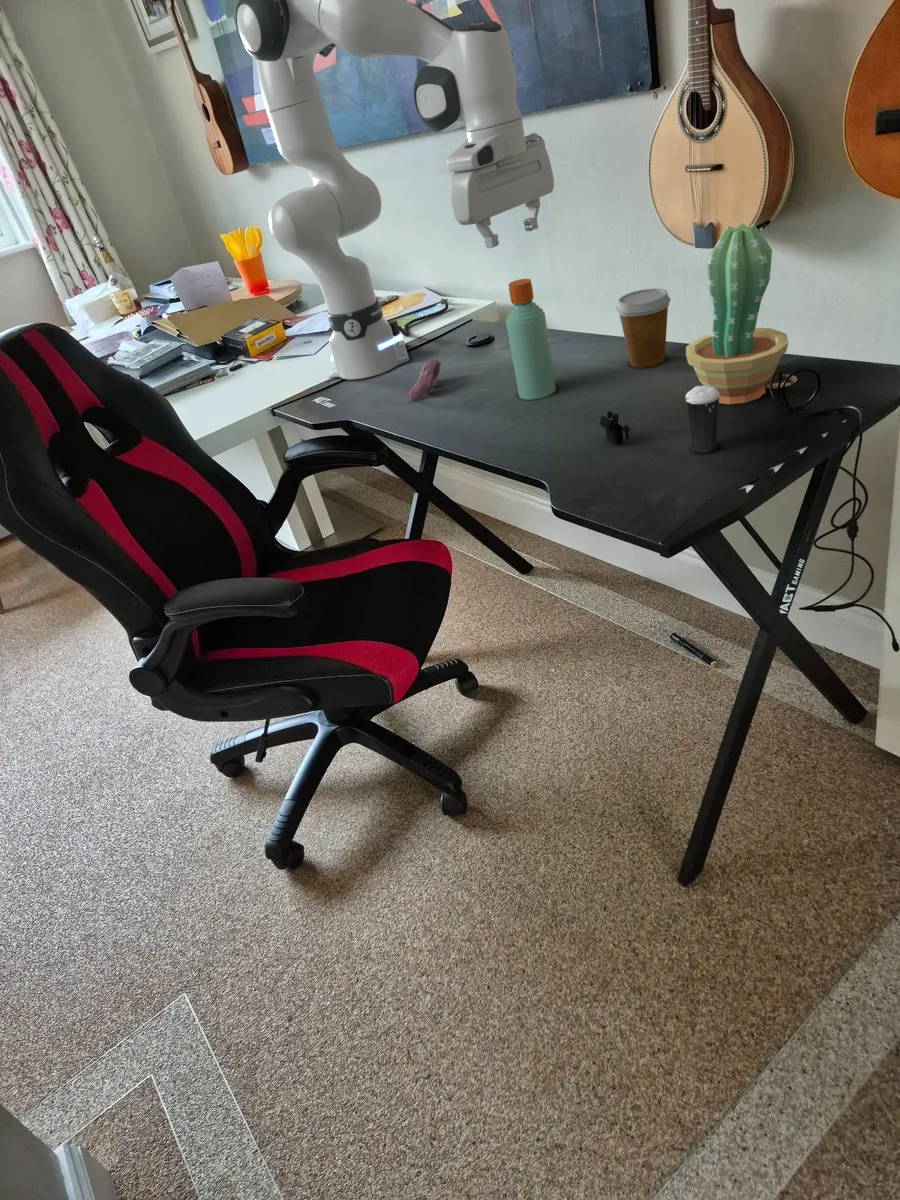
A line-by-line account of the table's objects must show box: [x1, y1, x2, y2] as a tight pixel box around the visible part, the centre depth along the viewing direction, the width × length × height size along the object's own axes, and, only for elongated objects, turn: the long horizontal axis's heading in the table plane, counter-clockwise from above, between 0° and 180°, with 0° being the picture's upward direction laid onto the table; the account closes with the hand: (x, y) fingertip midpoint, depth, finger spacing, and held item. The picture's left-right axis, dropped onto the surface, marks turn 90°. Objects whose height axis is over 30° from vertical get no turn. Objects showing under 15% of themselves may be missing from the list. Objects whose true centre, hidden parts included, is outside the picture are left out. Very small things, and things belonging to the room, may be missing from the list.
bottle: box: [505, 299, 557, 401], centre depth 140 cm, size 7×7×20 cm
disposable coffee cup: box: [615, 288, 671, 369], centre depth 142 cm, size 10×10×12 cm
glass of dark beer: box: [679, 384, 720, 454], centre depth 110 cm, size 4×5×10 cm
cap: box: [508, 278, 534, 304], centre depth 135 cm, size 4×4×3 cm
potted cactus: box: [685, 223, 790, 405], centre depth 119 cm, size 15×16×25 cm
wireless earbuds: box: [599, 410, 631, 445], centre depth 119 cm, size 7×2×5 cm, turn 28°
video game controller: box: [408, 359, 442, 401], centre depth 157 cm, size 10×5×7 cm, turn 168°
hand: (512, 238), depth 130 cm, fingers open, 8 cm apart
